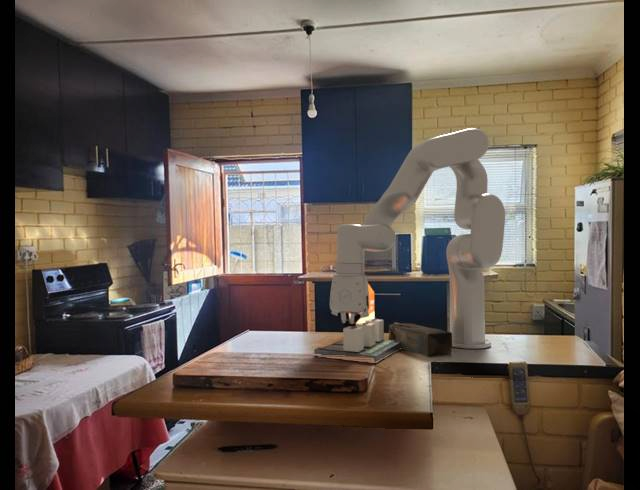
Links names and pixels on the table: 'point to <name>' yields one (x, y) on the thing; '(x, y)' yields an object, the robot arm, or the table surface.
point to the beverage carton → (422, 339)
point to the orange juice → (371, 307)
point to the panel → (374, 351)
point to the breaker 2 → (378, 328)
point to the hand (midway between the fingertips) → (349, 337)
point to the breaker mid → (368, 333)
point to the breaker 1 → (353, 338)
